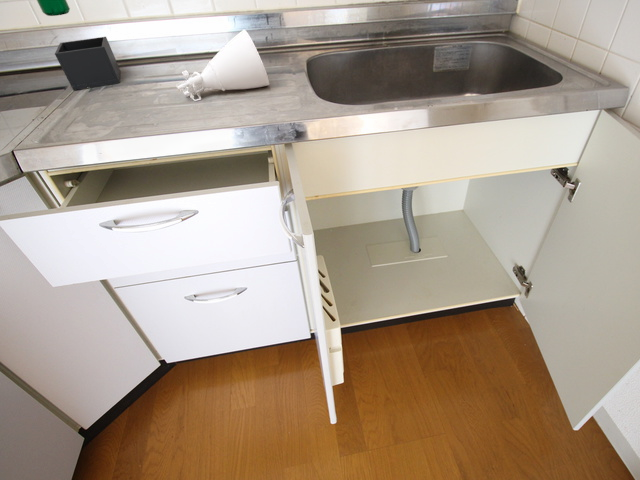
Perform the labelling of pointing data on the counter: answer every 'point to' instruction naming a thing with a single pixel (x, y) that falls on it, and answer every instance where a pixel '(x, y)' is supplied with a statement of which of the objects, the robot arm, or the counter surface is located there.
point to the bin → (88, 63)
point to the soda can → (54, 7)
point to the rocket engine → (229, 69)
